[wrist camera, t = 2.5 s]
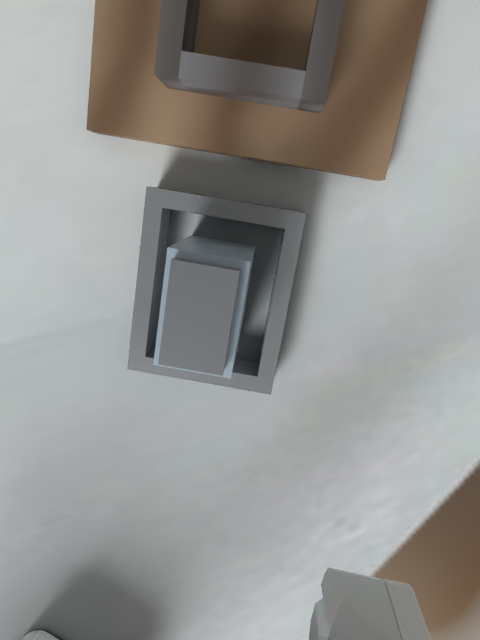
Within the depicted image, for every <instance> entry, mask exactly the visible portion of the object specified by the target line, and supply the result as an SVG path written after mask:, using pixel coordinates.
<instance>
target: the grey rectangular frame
mask: <svg viewBox="0 0 480 640" xmlns="http://www.w3.org/2000/svg"><path fill="white" fill-rule="evenodd" d="M171 209H172V210H178V211H184V212H190V213H196V214H202V215H207V216H213V217H219V218H225V219H231V220H237V221H243V222H248V223H254V224H260V225H266V226H272V227H278V228H284V229H283V234H282V239H281V245H280V250H279V256H278V261H277V266H276V272H275V277H274V283H273V288H272V293H271V299H270V304H269V309H268V315H267V320H266V326H265V331H264V336H263V342H262V347H261V353H260V358H259V363H258V362H252V361H247V360H241V359H235V362H234V367H233V371H232V376H231V379H230V378H224V377H219V376H213V375H207V374H202V373H196V372H191V371H185V370H179V369H174V368H168V367H162V366H157V365H153V362H154V354H155V346H156V344H155V340H156V331H157V323H158V315H159V306H160V298H161V290H162V281H163V273H164V265H165V257H166V248H167V240H168V232H169V223H170V215H171ZM305 219H306V213H304V212H299V211H293V210H287V209H281V208H275V207H269V206H263V205H258V204H252V203H246V202H240V201H234V200H228V199H222V198H216V197H211V196H205V195H199V194H193V193H187V192H181V191H175V190H169V189H164V188H158V187H147V188H146V198H145V207H144V217H143V226H142V236H141V245H140V255H139V265H138V274H137V284H136V293H135V303H134V312H133V322H132V331H131V341H130V350H129V360H128V369H130V370H136V371H141V372H147V373H153V374H158V375H164V376H170V377H175V378H181V379H186V380H192V381H198V382H203V383H209V384H214V385H220V386H226V387H231V388H237V389H243V390H248V391H254V392H259V393H265V394H271V391H272V386H273V381H274V376H275V371H276V366H277V361H278V356H279V351H280V345H281V340H282V335H283V330H284V325H285V320H286V315H287V310H288V305H289V300H290V295H291V290H292V285H293V280H294V274H295V269H296V264H297V259H298V254H299V249H300V244H301V239H302V234H303V229H304V224H305Z"/></svg>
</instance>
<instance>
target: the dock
mask: <svg viewBox="0 0 480 640" xmlns="http://www.w3.org/2000/svg"><path fill="white" fill-rule="evenodd" d="M426 4H427V0H96V1H95V16H94V30H93V44H92V59H91V73H90V88H89V102H88V116H87V130H89V131H92V132H94V133H98V134H104V135H110V136H116V137H122V138H128V139H134V140H140V141H146V142H152V143H158V144H164V145H170V146H176V147H181V148H187V149H193V150H199V151H205V152H211V153H217V154H223V155H229V156H235V157H241V158H247V159H253V160H259V161H265V162H271V163H277V164H283V165H288V166H294V167H300V168H306V169H312V170H318V171H324V172H330V173H336V174H342V175H348V176H354V177H360V178H366V179H372V180H378V181H380V180H385V177H386V173H387V169H388V165H389V160H390V156H391V152H392V148H393V144H394V139H395V135H396V131H397V127H398V122H399V118H400V114H401V110H402V106H403V101H404V97H405V93H406V89H407V84H408V80H409V76H410V72H411V68H412V63H413V59H414V55H415V51H416V46H417V42H418V38H419V34H420V30H421V25H422V21H423V17H424V13H425V8H426Z"/></svg>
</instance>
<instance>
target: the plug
mask: <svg viewBox="0 0 480 640" xmlns="http://www.w3.org/2000/svg"><path fill="white" fill-rule="evenodd" d="M255 247H256V246H251V245H245V244H240V243H234V242H228V241H222V240H216V239H211V238H205V237H199V236H193V235H192V236H190V237H188V238H186V239H184V240H182V241H180V242H177V243H175V244H173V245H171V246H169V247H167V254H166V263H165V271H164V279H163V288H162V296H161V304H160V312H159V321H158V329H157V337H156V346H155V354H154V362H153V365H157V366H162V367H168V368H174V369H179V370H185V371H191V372H196V373H202V374H207V375H213V376H219V377H224V378H230V379H231V376H232V371H233V367H234V362H235V358H236V353H237V349H238V344H239V340H240V335H241V329H242V323H243V317H244V311H245V305H246V299H247V294H248V288H249V282H250V276H251V270H252V264H253V259H254V253H255Z"/></svg>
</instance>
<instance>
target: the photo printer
mask: <svg viewBox="0 0 480 640" xmlns="http://www.w3.org/2000/svg"><path fill="white" fill-rule="evenodd" d="M22 640H59V639H57V638H56V637H54V636H53V635H51V634H49V633H47V632H45V631H43V630H35V631H32V632H29V633H28V634H26V635H25V636H24V637H23V638H22Z"/></svg>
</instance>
